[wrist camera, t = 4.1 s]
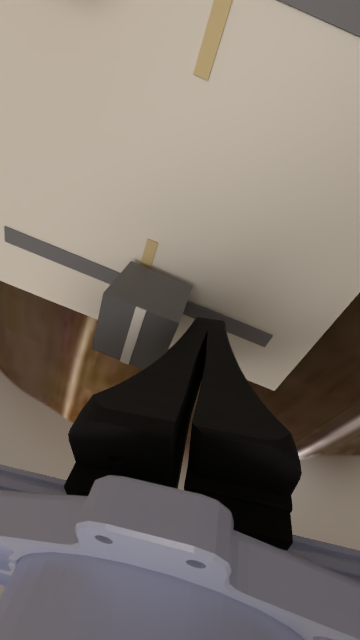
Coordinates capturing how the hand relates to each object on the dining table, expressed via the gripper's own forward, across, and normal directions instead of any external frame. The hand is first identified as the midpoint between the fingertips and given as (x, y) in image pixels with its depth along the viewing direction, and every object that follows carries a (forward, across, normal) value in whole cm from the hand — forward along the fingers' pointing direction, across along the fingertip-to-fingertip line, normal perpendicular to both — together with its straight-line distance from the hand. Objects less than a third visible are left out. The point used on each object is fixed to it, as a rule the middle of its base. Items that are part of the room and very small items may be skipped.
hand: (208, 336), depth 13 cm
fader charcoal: (+1, +3, -1) cm, 3 cm away
